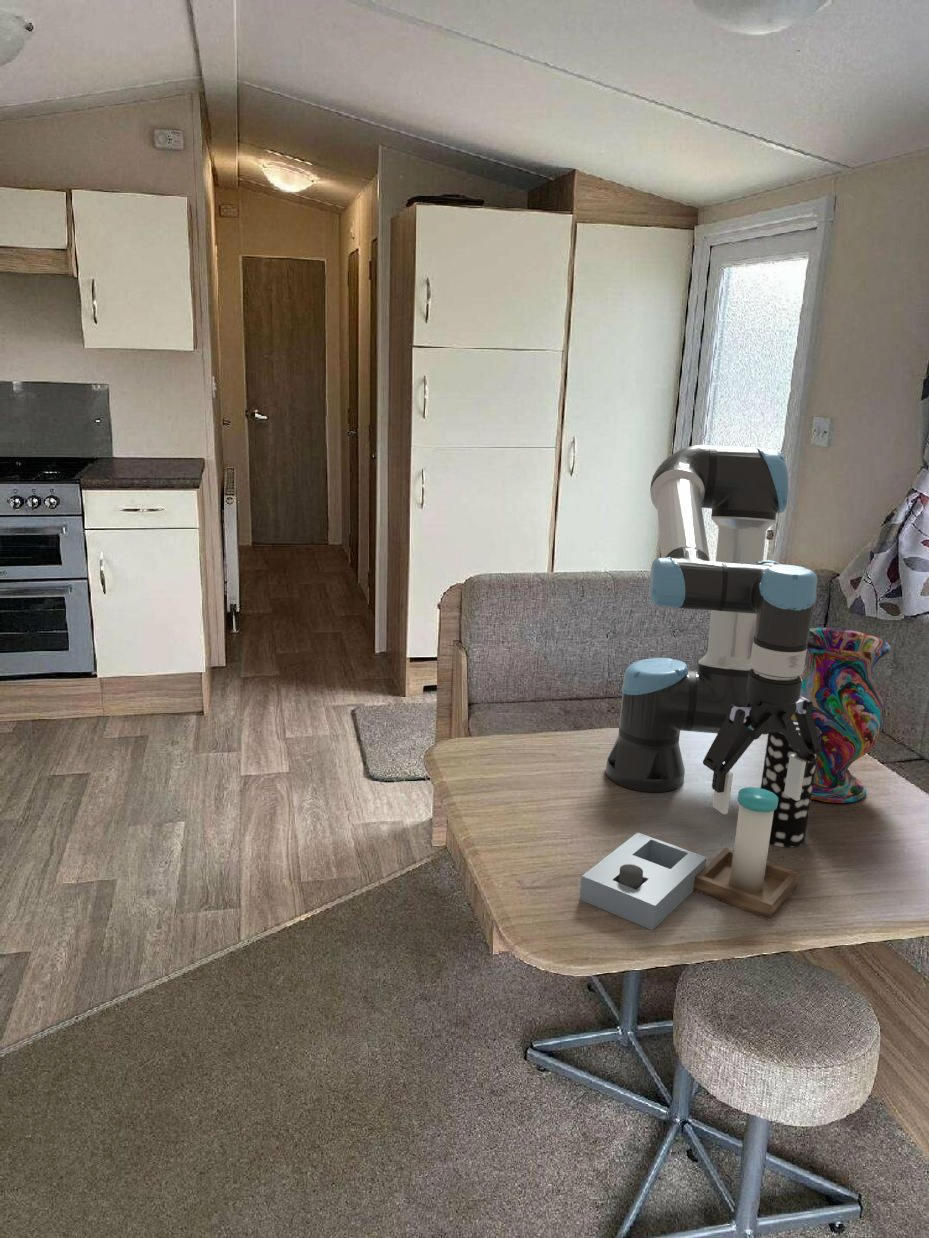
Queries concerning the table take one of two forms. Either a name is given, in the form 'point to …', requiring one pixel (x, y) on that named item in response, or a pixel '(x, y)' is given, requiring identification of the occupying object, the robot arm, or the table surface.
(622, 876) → the plunger
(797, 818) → the spotted tube
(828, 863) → the table surface
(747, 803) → the ball
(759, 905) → the tray
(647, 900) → the housing
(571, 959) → the table surface
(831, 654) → the vase
